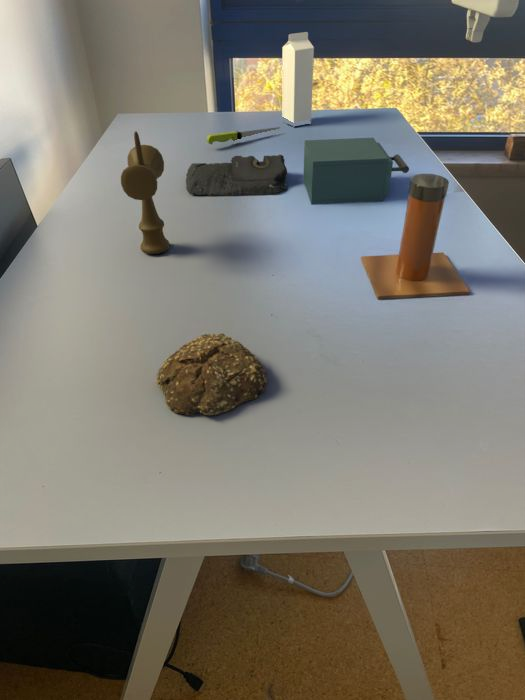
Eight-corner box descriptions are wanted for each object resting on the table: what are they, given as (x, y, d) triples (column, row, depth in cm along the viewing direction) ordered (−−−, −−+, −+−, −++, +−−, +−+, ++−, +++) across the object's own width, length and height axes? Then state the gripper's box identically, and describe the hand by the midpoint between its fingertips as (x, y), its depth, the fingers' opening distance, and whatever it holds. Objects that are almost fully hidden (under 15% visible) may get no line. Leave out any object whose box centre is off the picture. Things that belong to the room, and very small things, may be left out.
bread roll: (224, 338, 71) (222, 308, 68) (280, 387, 63) (280, 356, 60) (140, 376, 65) (133, 346, 62) (190, 436, 57) (185, 404, 54)
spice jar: (423, 263, 84) (441, 172, 74) (433, 280, 80) (454, 186, 70) (391, 265, 84) (406, 174, 74) (400, 282, 80) (416, 188, 70)
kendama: (174, 235, 94) (158, 121, 82) (170, 262, 87) (151, 140, 74) (142, 237, 94) (120, 122, 82) (134, 263, 87) (110, 142, 74)
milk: (311, 124, 145) (315, 33, 131) (293, 128, 143) (295, 35, 128) (299, 119, 149) (301, 30, 135) (281, 122, 147) (282, 32, 132)
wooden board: (442, 255, 87) (443, 252, 87) (469, 294, 78) (470, 291, 78) (360, 259, 87) (361, 256, 86) (377, 299, 77) (378, 296, 77)
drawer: (394, 173, 113) (398, 141, 109) (408, 194, 104) (414, 160, 100) (314, 176, 113) (315, 145, 108) (322, 198, 104) (324, 164, 99)
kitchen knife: (277, 137, 140) (278, 125, 138) (280, 138, 139) (281, 127, 138) (206, 147, 130) (206, 134, 128) (208, 148, 129) (208, 136, 127)
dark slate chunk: (189, 170, 119) (187, 149, 116) (284, 167, 120) (284, 146, 117) (183, 197, 108) (181, 175, 105) (288, 194, 108) (289, 171, 105)
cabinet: (368, 177, 114) (373, 137, 109) (382, 201, 104) (388, 158, 99) (303, 180, 114) (304, 140, 108) (311, 204, 104) (312, 161, 98)
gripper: (545, -58, 74) (516, 51, 83) (488, -61, 90) (469, 31, 99) (502, -57, 74) (478, 52, 83) (452, -61, 90) (437, 32, 99)
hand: (473, 41), depth 91 cm, fingers closed
